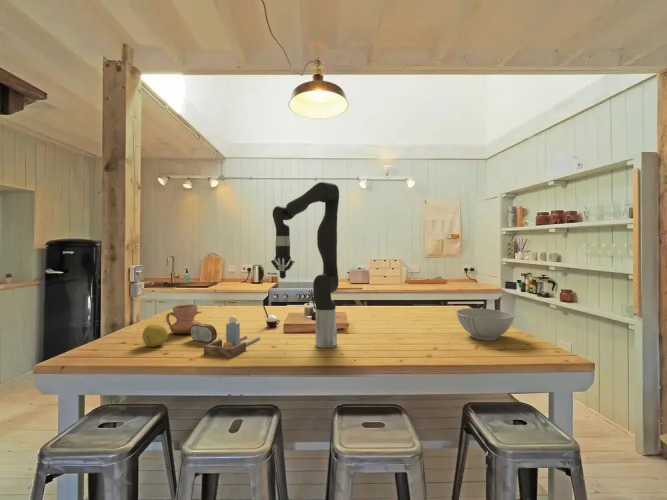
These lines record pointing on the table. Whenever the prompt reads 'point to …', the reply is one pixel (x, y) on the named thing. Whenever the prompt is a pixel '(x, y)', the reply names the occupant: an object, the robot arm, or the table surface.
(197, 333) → the tin
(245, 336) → the lane
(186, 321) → the ceramic jug
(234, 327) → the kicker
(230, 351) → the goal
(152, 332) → the fruit
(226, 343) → the ball
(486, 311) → the decorative bowl
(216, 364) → the table surface
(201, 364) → the table surface
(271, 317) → the cocoa
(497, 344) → the table surface
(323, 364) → the table surface
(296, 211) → the robot arm
